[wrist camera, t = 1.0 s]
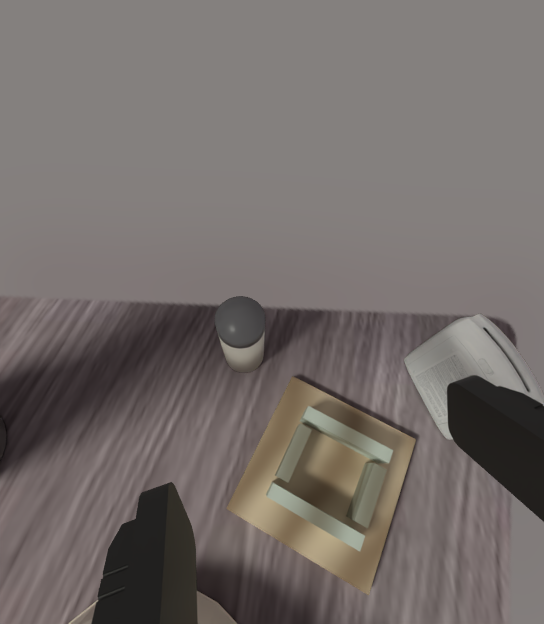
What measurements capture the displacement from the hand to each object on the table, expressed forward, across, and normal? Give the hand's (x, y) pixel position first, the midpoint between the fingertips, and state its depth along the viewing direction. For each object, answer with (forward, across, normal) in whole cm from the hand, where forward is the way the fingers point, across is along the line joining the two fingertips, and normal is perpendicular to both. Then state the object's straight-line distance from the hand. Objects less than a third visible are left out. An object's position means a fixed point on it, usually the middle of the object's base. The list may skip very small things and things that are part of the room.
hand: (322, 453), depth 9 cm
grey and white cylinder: (+28, 0, +10) cm, 29 cm away
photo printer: (+20, -19, +18) cm, 33 cm away
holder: (+18, -4, +20) cm, 27 cm away
